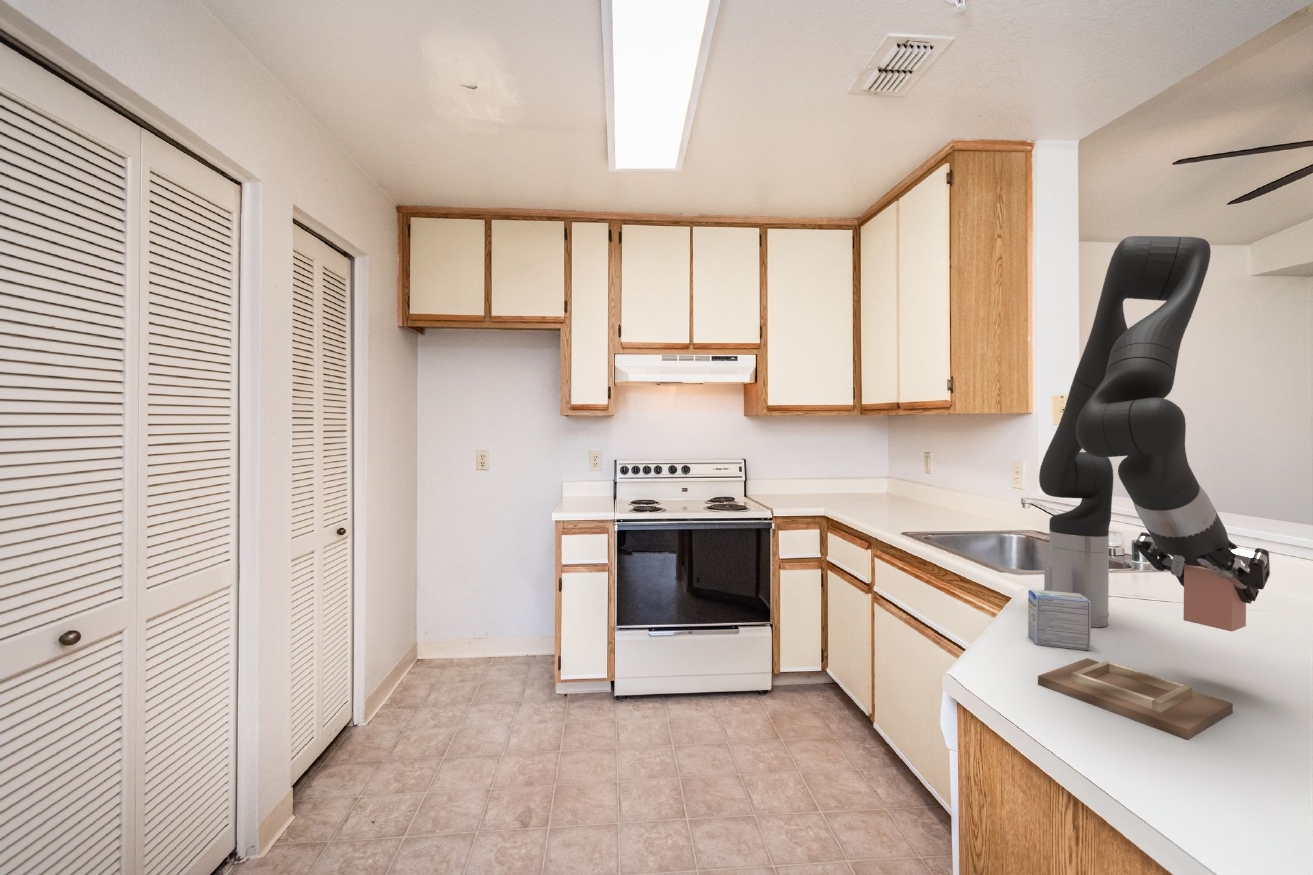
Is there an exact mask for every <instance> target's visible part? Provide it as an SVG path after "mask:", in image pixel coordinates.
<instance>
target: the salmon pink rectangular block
mask: <svg viewBox="0 0 1313 875" xmlns="http://www.w3.org/2000/svg"><path fill="white" fill-rule="evenodd" d="M1236 575H1237V576H1238V573H1237V572H1236ZM1183 621H1185V622H1189V623H1194V624H1198V625H1201V626H1206V627H1210V628H1215V629H1218V630H1223V631H1228V632H1232V633H1233V632H1235V631H1237V630H1240V629H1242V628H1244V627H1247V626H1246V625H1247V624H1246V623H1247V603H1244V602H1242V601H1241V599H1240V597H1239V595H1238V593H1237V591H1236V589H1235V586H1234V585H1233V583H1231V582H1230V581H1228V580H1227V579H1226V578H1220V577H1219V576H1217V575H1216V574H1215V573H1214V572H1213V571H1211V570H1210V569H1207V568H1204V567H1200V566H1190V565H1185V567H1184V587H1183Z"/></svg>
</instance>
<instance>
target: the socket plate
mask: <svg viewBox="0 0 1313 875" xmlns="http://www.w3.org/2000/svg"><path fill="white" fill-rule="evenodd" d="M1037 685H1039V686H1042V687H1045V688H1048V689H1050V690H1053V691H1055V692H1058V693H1060V694H1063V695H1065V696H1068V697H1072V698H1074V699H1077V700H1080V701H1082V702H1085V703H1088V704H1090V705H1093V706H1096V707H1099V708H1101V709H1104V710H1106V711H1110V712H1112V713H1115V714H1117V715H1119V716H1123V717H1124V718H1128V719H1131V720H1133V721H1137V722H1139V723H1142V724H1144V725H1147V726H1150V727H1152V728H1156V729H1157V730H1160V731H1164V732H1166V733H1168V734H1170V735H1174V736H1177V737H1180V738H1182V739H1185V740H1187V741H1188V740H1189V739H1192V738H1193V737H1195V736H1197V735H1198V734H1200V733H1201V732H1203V731H1205V730H1206V729H1208V728H1210V727H1211V726H1213V725H1214V724H1216V723H1218V722H1219V721H1221V720H1223V719H1225V718H1226V717H1228V716H1229V715H1232V714H1233V713H1234V708H1233V707H1234V704H1233V702H1230V701H1226V700H1224V699H1221V698H1217V697H1214V696H1210V695H1208V694H1204V693H1200V692H1198V691H1194V690H1193V687H1192V686H1189V685H1186V684H1182V683H1179V682H1177V681H1173V680H1171V679H1167V678H1163V677H1160V676H1156V675H1153V674H1150V673H1146V672H1144V671H1140V670H1137V669H1134V668H1130V667H1127V666H1123V665H1120V664H1117V663H1114V662H1110V661H1107V660H1103V661H1097V660H1094V659H1092V658H1091V659H1090V658H1084V659H1082V660H1078V661H1075V662H1073V663H1069V664H1067V665H1064V666H1061V667H1059V668H1056V669H1053V670H1050V671H1047V672H1045V673H1042V674H1039V675H1037Z"/></svg>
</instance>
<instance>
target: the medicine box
mask: <svg viewBox="0 0 1313 875" xmlns="http://www.w3.org/2000/svg"><path fill="white" fill-rule="evenodd" d="M1027 594H1028V595H1027V596H1028V599H1027V601H1028V602H1027V603H1028V604H1027V606H1028V607H1027V608H1028V609H1027V612H1028V614H1027V616H1028V619H1027V621H1028V622H1027V625H1028V626H1027V627H1028V628H1027V632H1028V633H1027V634H1028V635H1027V636H1028V638H1030V640H1031V641H1032V642H1033V643H1034V644H1035V645H1037V646H1038V645H1039V646H1043V647H1045V646H1046V647H1052V648H1053V647H1054V648H1055V647H1056V648H1061V649H1062V648H1065V649H1072V650H1073V649H1074V650H1083V651H1091V650H1092V649H1091V637H1092V636H1091V632H1092V631H1091V628H1092V627H1091V601H1089V600H1088V599H1087V598H1086V597H1084V596H1082V595H1081V594H1078V593H1067V592H1055V591H1044V590H1040V589H1028V592H1027Z"/></svg>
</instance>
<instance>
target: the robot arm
mask: <svg viewBox="0 0 1313 875" xmlns="http://www.w3.org/2000/svg"><path fill="white" fill-rule="evenodd" d="M1211 252H1212V251H1211V246H1210V243H1209V242H1208V240H1207V239H1205V238H1203V237H1196V236H1174V235H1173V236H1172V235H1171V236H1169V235H1168V236H1167V235H1166V236H1165V235H1163V236H1162V235H1133V236H1132V235H1131V236H1127V237H1125V238H1123V239H1122V240H1120V242H1119V243H1118V245H1117V246H1116V248H1115V249H1114V250H1113V254H1112V256H1111V257H1110V258H1111V259H1110V260H1109V264H1108V267H1107V271H1106V274H1105V278H1104V282H1103V285H1102V289H1101V293H1100V297H1099V300H1098V305H1097V308H1096V312H1095V316H1094V319H1093V323H1092V327H1091V330H1090V333H1089V336H1088V339H1087V342H1086V344H1085V346H1084V347H1085V348H1084V349H1083V353H1082V356H1081V357H1080V361H1079V362H1078V365H1077V367H1076V370H1075V374H1074V376H1073V380H1072V383H1071V385H1070V389H1069V392H1068V396H1067V399H1066V403H1065V406H1064V409H1063V412H1062V415H1061V417H1060V418H1061V419H1060V421H1059V424H1058V427H1057V428H1056V430H1055V433H1054V435H1053V437H1052V438H1051V442H1050V443H1049V445H1048V448H1047V449H1046V452H1045V454H1044V456H1043V458H1042V461H1041V465H1040V469H1039V474H1038V475H1039V477H1038V481H1039V483H1038V484H1039V487H1040V489H1041V491H1042V492H1043V493H1044V494H1045V495H1047V496H1049V497H1053V498H1060V499H1062V498H1063V499H1081V501H1080V504H1078V506H1076V507H1074V508H1073V509H1070V510H1068V511H1065V512H1063V513H1058V514H1054V515H1052V516H1051V517H1050V518H1049V523H1048V524H1049V527H1048V528H1049V544H1048V545H1049V554H1048V555H1049V559H1048V560H1049V563H1048V564H1049V566H1047V567H1045V568H1044V570H1043V572H1044V573H1043V574H1044V576H1043V577H1044V580H1043V581H1044V584H1043V585H1044V586H1043V587H1044V588H1043V589H1044V590H1043V591H1055V592H1067V593H1078V594H1081V595H1082V596H1084V597H1086V598H1087V599H1088V600H1089V601H1091V628H1102V627H1103V628H1104V627H1107V626H1109V617H1110V616H1109V615H1110V612H1109V605H1110V604H1109V598H1110V596H1109V593H1110V592H1109V589H1110V588H1109V583H1110V582H1109V578H1110V577H1109V574H1110V573H1109V570H1110V569H1109V562H1110V561H1109V559H1110V558H1109V555H1110V554H1109V544H1110V543H1109V539H1110V538H1109V534H1110V531H1109V530H1110V524H1111V520H1112V504H1113V503H1112V502H1113V494H1114V493H1113V491H1114V490H1113V489H1114V468H1113V463H1112V462H1111V459H1110V458H1113V457H1114V458H1115V457H1117V458H1118V457H1125V458H1123V459H1121V461H1120V463H1119V465H1118V467H1117V475H1118V477H1119V480H1120V482H1121V484H1122V485H1123V487H1124V489H1125V491H1126V493H1127V494H1128V495H1129V497H1130V499H1131V500H1132V502H1133V507H1134V509H1135V511H1136V514H1137V516H1138V517H1139V519H1140V520H1141V522H1142V524H1143V525H1144V527H1145V529H1146V530H1147V532H1144V531H1142V532H1140V534H1139V536H1138V537H1137V539H1136V541H1135V543H1134V545H1133V546H1134V547H1135V549H1136V550H1137V551H1138V552H1139V553H1140V554H1141V556H1143V557H1144V559H1146V560H1147V561H1148V562H1149V563H1150V565H1151V566H1153V568H1154V569H1156V570H1157V571H1159V572H1164V571H1169V572H1170V574H1171V575H1173V576H1175V577H1176V579H1177V580H1178V581H1179V584H1180V585H1181V586H1182V587H1183V588H1184V567H1185V565H1190V566H1200V567H1204V568H1207V569H1210V570H1211V571H1213V572H1214V573H1215V574H1216V575H1217V576H1219V577H1220V578H1226V579H1227V580H1228V581H1230V582H1231V583H1233V585H1234V586H1235V589H1236V591H1237V593H1238V595H1239V597H1240V599H1241V601H1242V602H1244V603H1246V604H1249V605H1251V604H1252V602H1256V599H1257V597H1258V595H1259V593H1260V590H1263V589H1265V586H1266V584H1267V583H1268V580H1269V578H1270V575H1271V570H1270V568H1271V567H1270V551H1268V550H1267V549H1264V548H1260V547H1258V548H1255V550H1254V551H1250V550H1246V549H1240V548H1239V547H1238V545H1236V544H1235V543H1234V542H1232V541H1231V540H1230V539H1229V536H1228V532H1227V530H1226V527H1225V525H1224V524H1223V522H1222V520H1221V518H1220V516H1219V514H1218V512H1217V510H1216V508H1215V506H1214V505H1213V503H1212V501H1211V499H1210V497H1209V495H1208V494H1207V493H1206V491H1205V490H1204V489H1203V487H1202V486H1201V485H1200V484H1199V482H1198V480H1197V478H1196V476H1195V474H1194V472H1193V470H1192V468H1191V467H1190V465H1189V461H1188V457H1187V451H1186V432H1187V431H1186V425H1187V423H1186V416H1185V414H1184V412H1183V410H1182V408H1181V407H1180V406H1178V405H1177V404H1176V403H1174V402H1173V401H1171V400H1170V399H1167V397H1168V395H1169V394H1170V393H1171V392H1172V389H1173V386H1174V382H1175V378H1176V377H1175V376H1176V370H1177V364H1178V361H1179V360H1178V358H1179V353H1180V348H1181V345H1182V340H1183V338H1184V334H1185V332H1186V330H1187V327H1188V325H1189V322H1190V321H1191V318H1192V315H1193V313H1194V311H1195V310H1194V309H1195V307H1196V305H1197V303H1198V298H1199V297H1200V294H1201V291H1202V288H1203V285H1204V281H1205V278H1206V276H1207V273H1208V269H1209V265H1210V261H1211V260H1210V259H1211ZM1127 299H1132V300H1145V301H1147V300H1148V301H1149V300H1150V301H1160V302H1161V301H1162V302H1164V301H1165V302H1164V303H1163V304H1161V305H1160V306H1159V307H1158V308H1157V309H1156V310H1154V311H1153V312H1151V313H1149V314H1148V315H1147V316H1145V317H1144V318H1142V319H1141V320H1139V321H1137V322H1135V324H1132V325H1131V326H1130V327H1128V325H1127V322H1126V318H1125V313H1124V301H1125V300H1127ZM1082 450H1083V451H1082ZM1243 564H1244V565H1243ZM1236 572H1237V573H1238V576H1237V575H1236Z"/></svg>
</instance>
